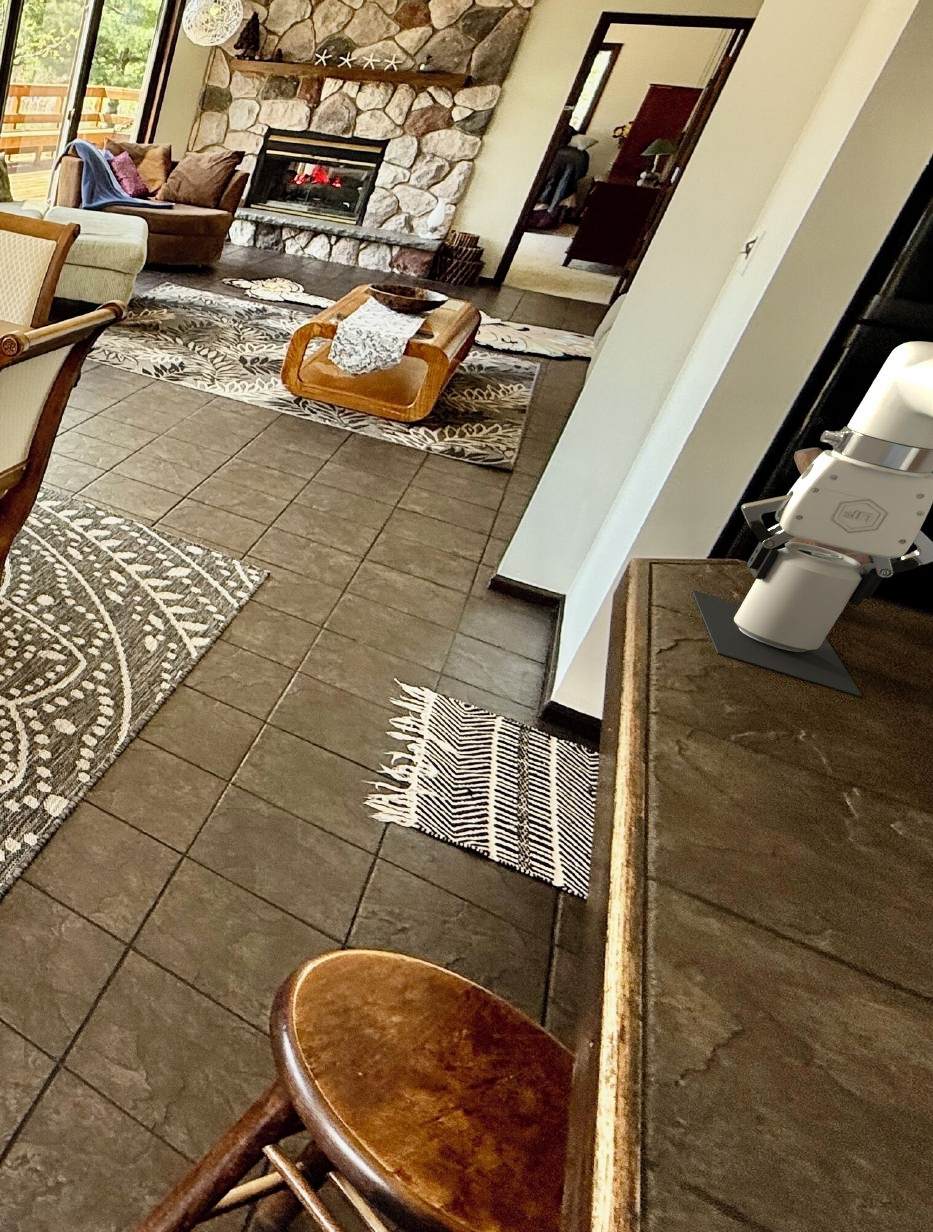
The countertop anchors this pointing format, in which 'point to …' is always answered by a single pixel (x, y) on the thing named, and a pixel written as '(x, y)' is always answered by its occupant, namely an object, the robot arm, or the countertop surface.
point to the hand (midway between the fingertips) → (802, 586)
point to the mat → (771, 649)
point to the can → (799, 597)
